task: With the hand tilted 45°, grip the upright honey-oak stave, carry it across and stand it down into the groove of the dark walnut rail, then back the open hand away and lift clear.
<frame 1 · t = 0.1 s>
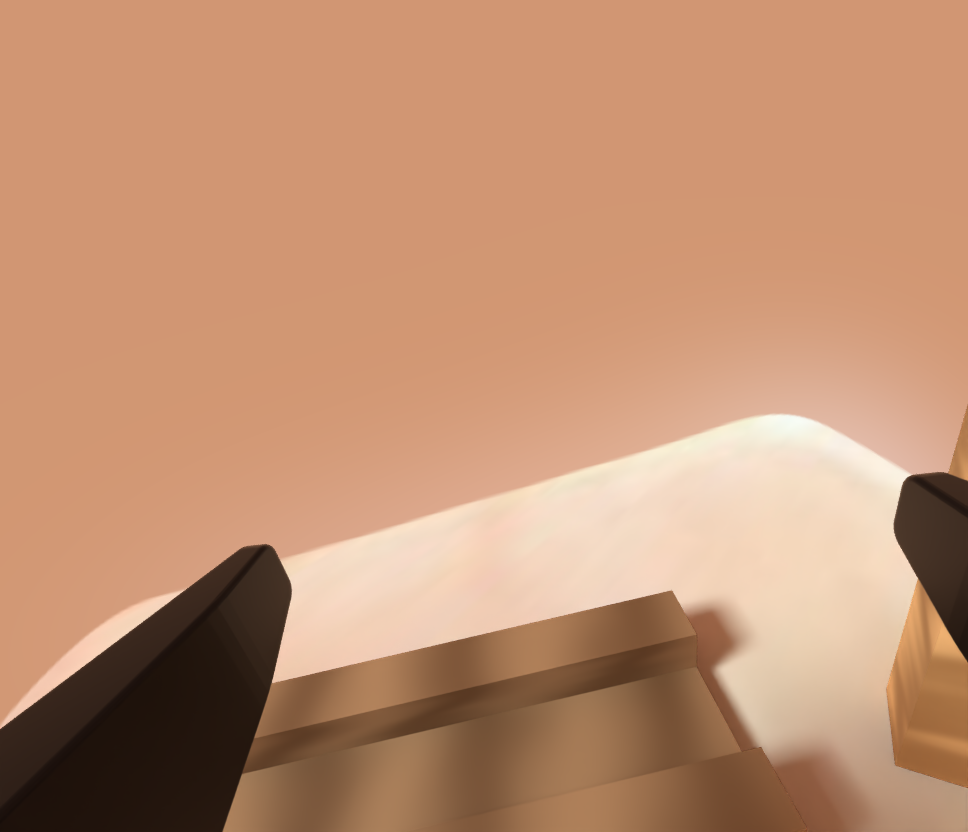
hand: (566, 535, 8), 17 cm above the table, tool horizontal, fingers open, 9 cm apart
walnut rail: (467, 794, 21), on the table
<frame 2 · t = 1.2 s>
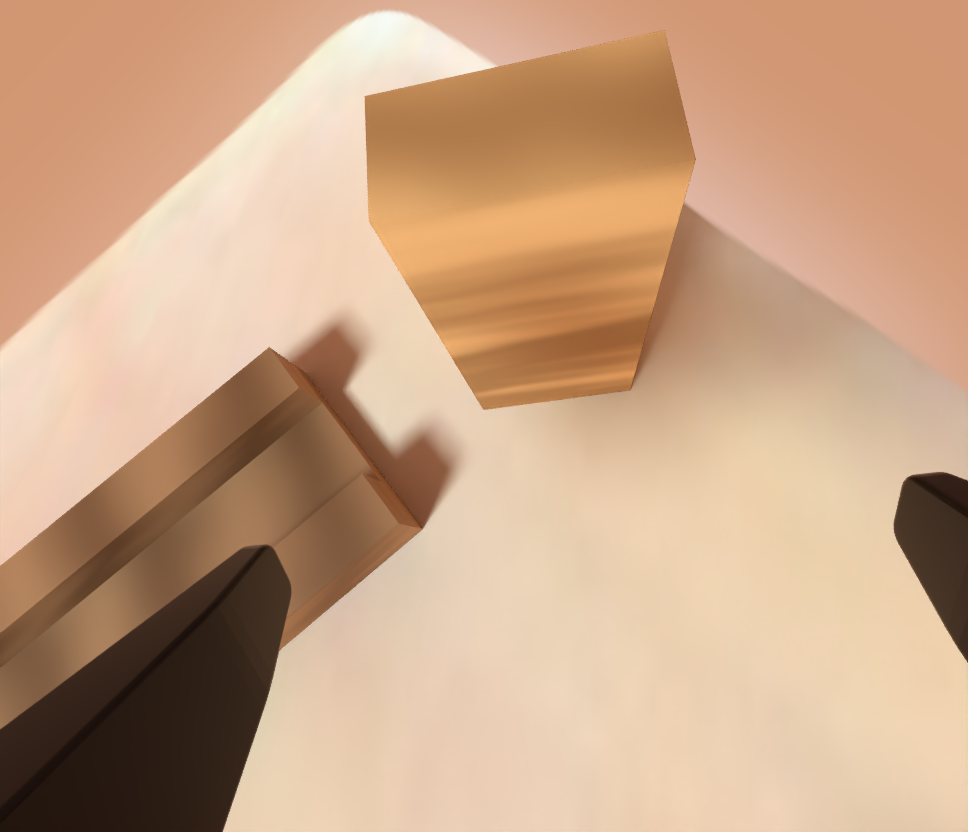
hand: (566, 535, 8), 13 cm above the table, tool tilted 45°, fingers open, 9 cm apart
walnut rail: (174, 600, 23), on the table
oak stave: (550, 366, 23), on the table
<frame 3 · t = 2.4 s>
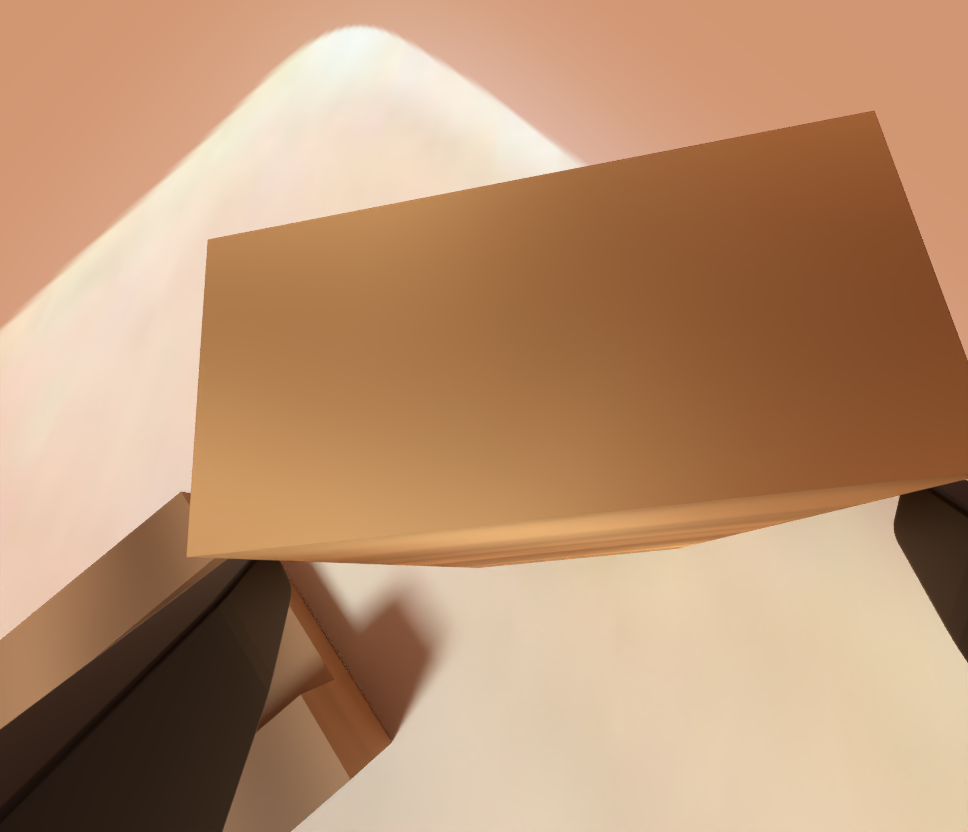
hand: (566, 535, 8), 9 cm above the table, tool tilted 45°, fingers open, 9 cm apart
walnut rail: (56, 828, 17), on the table
oak stave: (567, 508, 17), on the table
when the fingers open (8 cm above the table, at t = 7.5 s): oak stave stays where it is, resting on walnut rail.
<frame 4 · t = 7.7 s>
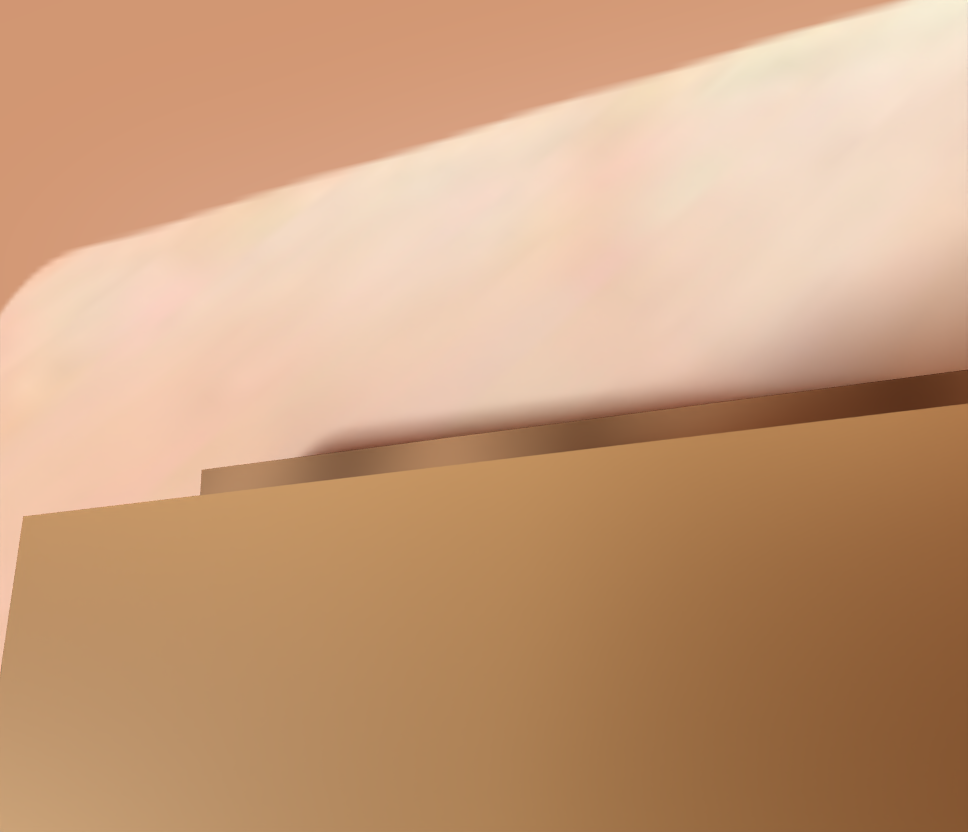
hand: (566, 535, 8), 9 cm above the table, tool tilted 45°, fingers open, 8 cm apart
walnut rail: (579, 599, 16), on the table
oak stave: (579, 602, 15), point 1 cm above the table, touching walnut rail
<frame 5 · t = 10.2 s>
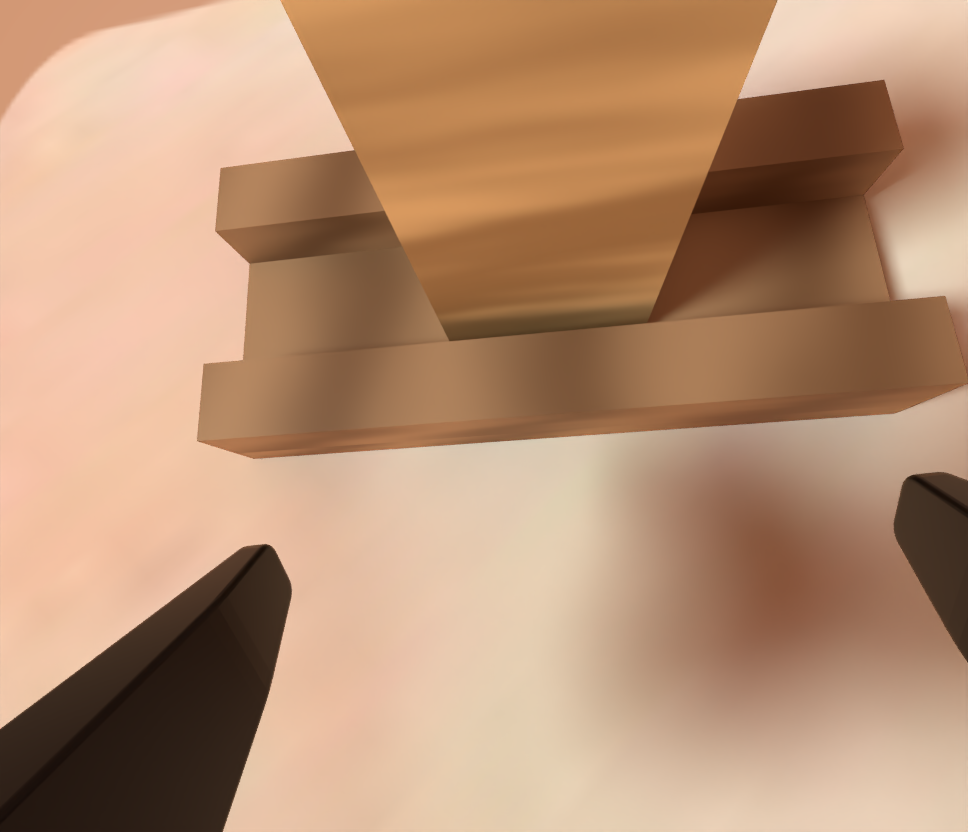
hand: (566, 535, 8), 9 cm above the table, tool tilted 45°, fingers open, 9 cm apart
walnut rail: (543, 306, 18), on the table
oak stave: (542, 292, 17), point 1 cm above the table, touching walnut rail
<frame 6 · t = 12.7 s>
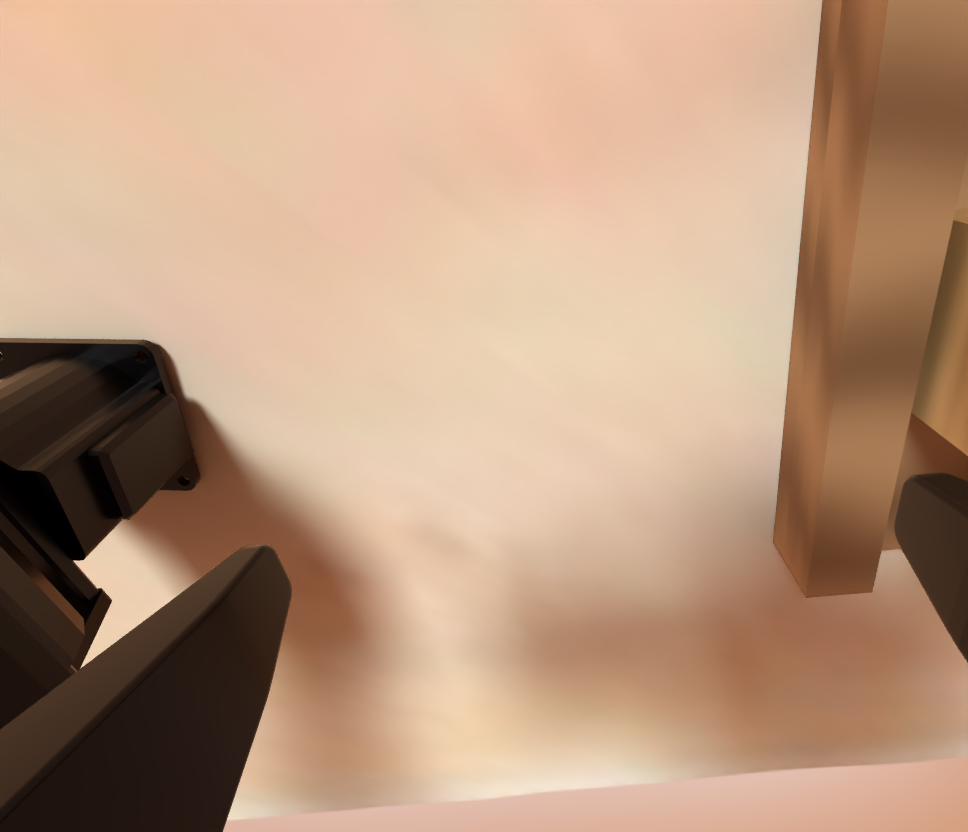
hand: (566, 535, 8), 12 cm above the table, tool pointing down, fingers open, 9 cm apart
walnut rail: (940, 296, 18), on the table
oak stave: (962, 306, 17), point 1 cm above the table, touching walnut rail
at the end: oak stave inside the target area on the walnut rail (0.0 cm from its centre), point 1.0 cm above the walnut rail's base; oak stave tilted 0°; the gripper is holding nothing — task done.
